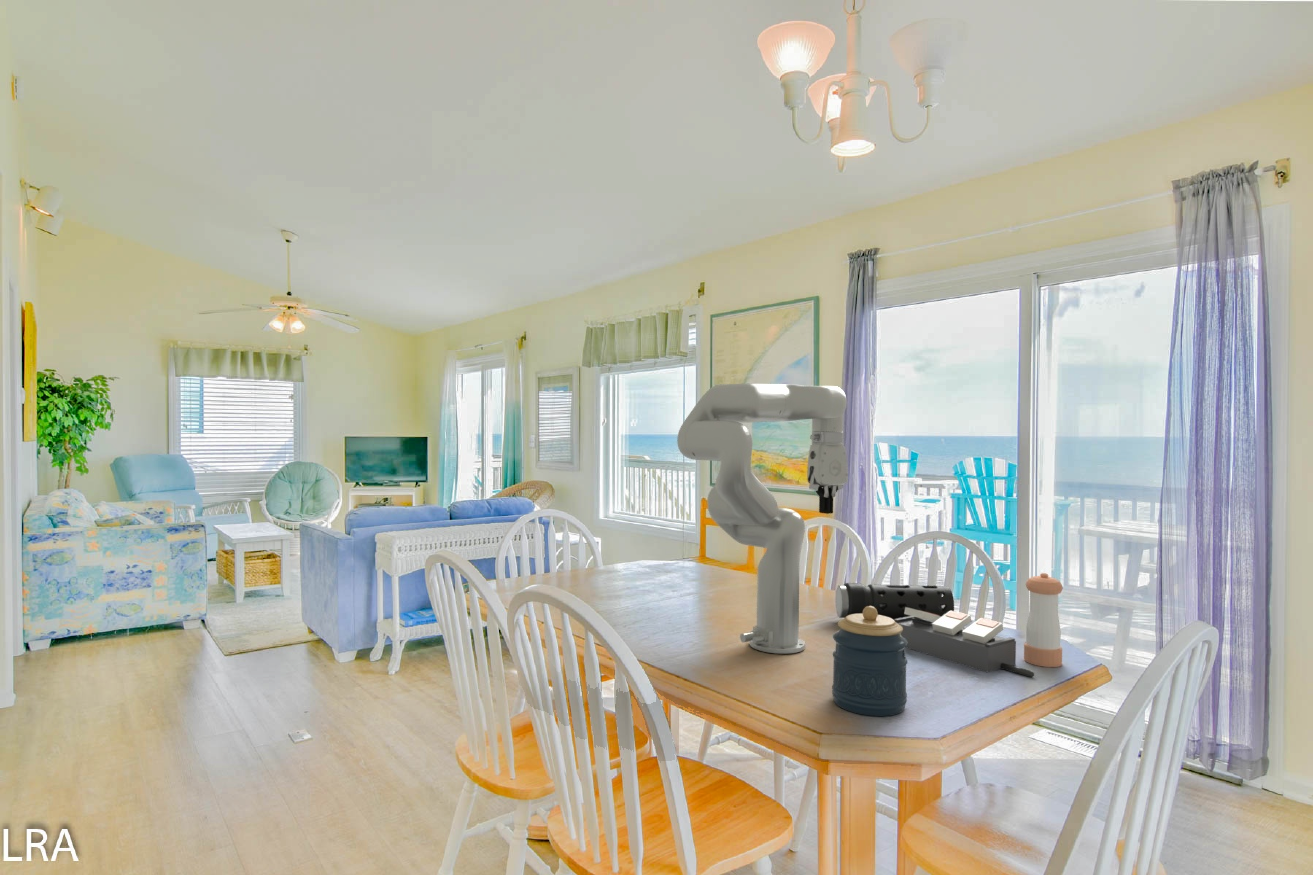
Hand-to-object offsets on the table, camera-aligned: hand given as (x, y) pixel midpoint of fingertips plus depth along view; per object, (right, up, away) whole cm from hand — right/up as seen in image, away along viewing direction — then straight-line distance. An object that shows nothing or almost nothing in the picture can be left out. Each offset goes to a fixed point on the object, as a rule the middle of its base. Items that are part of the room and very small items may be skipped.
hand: (826, 512), depth 181 cm
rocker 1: (+20, -23, -12) cm, 32 cm away
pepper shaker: (+41, -30, -24) cm, 56 cm away
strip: (+26, -30, -21) cm, 44 cm away
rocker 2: (+24, -23, -19) cm, 38 cm away
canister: (-4, -30, -50) cm, 58 cm away
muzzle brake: (+19, -30, +7) cm, 36 cm away
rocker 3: (+28, -23, -25) cm, 44 cm away
